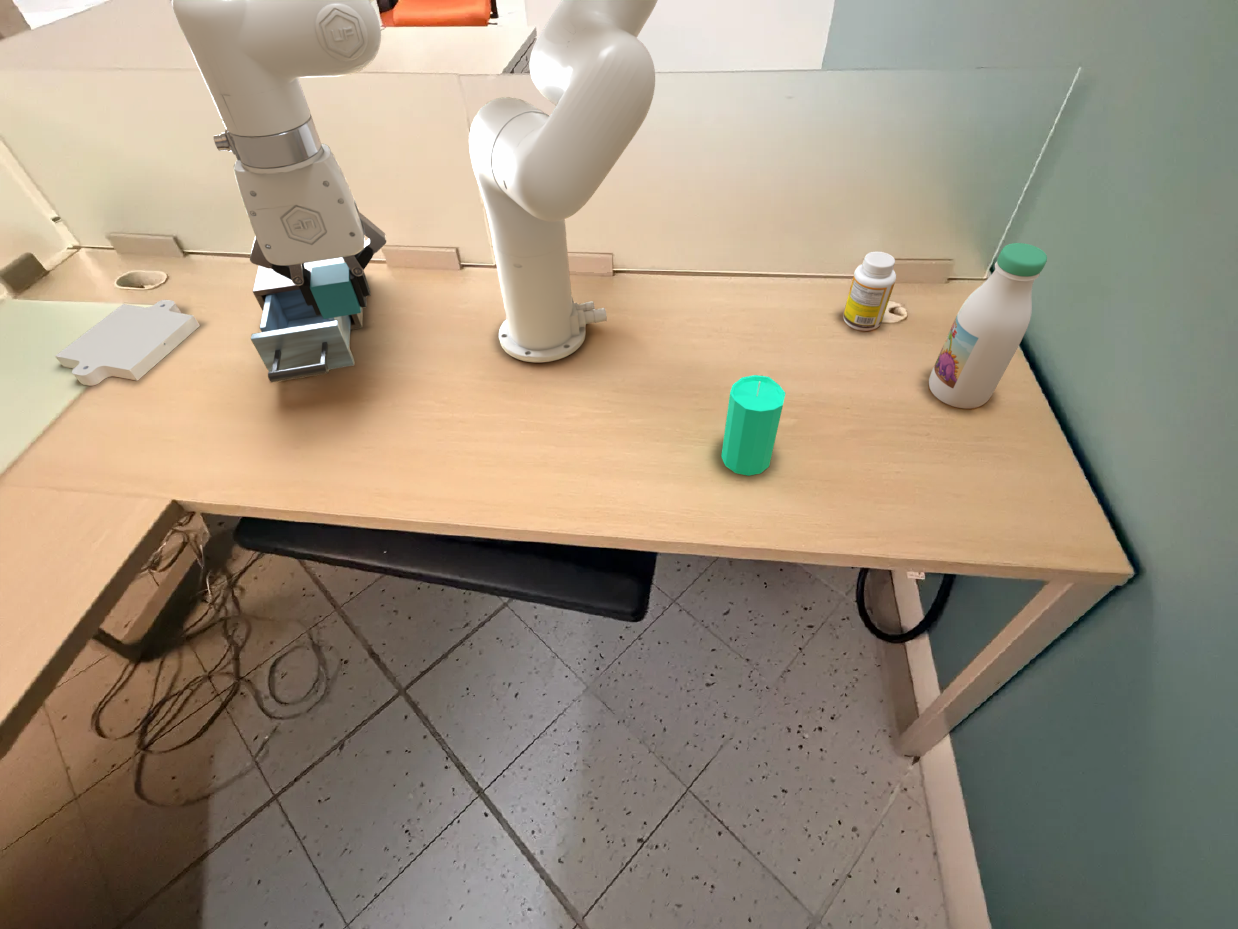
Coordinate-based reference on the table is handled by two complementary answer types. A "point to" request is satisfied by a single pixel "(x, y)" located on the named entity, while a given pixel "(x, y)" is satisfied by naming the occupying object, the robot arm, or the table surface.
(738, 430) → the candle
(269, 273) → the cabinet
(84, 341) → the mounting plate
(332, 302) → the teal wooden cube
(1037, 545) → the table surface
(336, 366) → the drawer
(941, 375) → the milk bottle
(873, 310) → the supplement bottle
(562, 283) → the robot arm
